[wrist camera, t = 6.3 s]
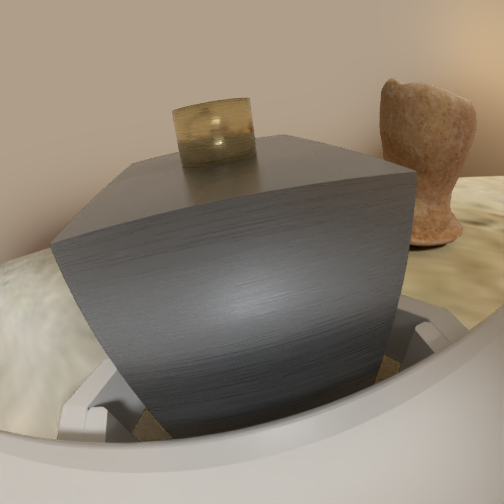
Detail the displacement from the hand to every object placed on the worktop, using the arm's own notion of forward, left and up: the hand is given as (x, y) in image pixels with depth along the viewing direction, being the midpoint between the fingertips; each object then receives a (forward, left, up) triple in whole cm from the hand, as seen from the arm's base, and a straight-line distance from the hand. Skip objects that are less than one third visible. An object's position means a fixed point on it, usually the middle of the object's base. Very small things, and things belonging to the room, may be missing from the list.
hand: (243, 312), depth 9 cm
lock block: (0, -1, -6) cm, 6 cm away
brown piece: (+20, +14, -6) cm, 25 cm away
